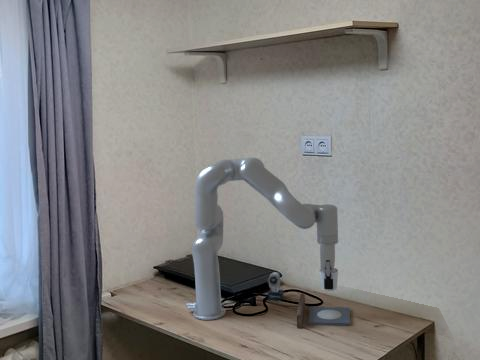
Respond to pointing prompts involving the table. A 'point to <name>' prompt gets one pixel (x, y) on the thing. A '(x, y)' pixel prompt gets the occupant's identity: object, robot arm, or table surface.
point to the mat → (329, 316)
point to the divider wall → (300, 310)
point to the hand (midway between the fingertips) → (328, 285)
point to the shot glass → (334, 276)
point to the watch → (275, 287)
